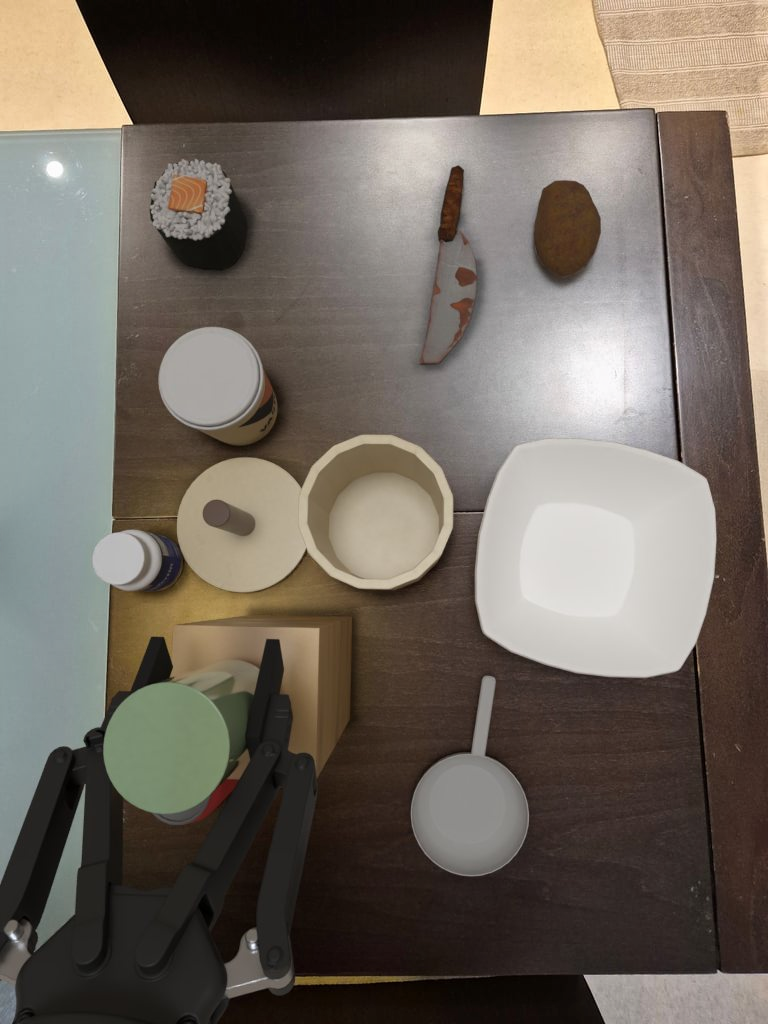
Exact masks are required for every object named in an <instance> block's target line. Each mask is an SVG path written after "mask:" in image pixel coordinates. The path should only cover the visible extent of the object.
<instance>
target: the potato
mask: <svg viewBox="0 0 768 1024" xmlns="http://www.w3.org/2000/svg"><path fill="white" fill-rule="evenodd" d="M601 219H602V218H601V216H600V212H599V210H598V208H597V206H596V204H595V203H594V201H593V198H592V196H591V194H590V191H589V190H588V189H587V188H586V186H585V185H584V184H583V183H581V182H579V181H576V180H569V179H568V180H567V179H563V180H562V179H559V180H554V181H552V182H551V183H549V184H547V185H546V186H545V187H543V188H542V190H541V194H540V198H539V201H538V206H537V212H536V215H535V220H534V221H535V222H534V225H533V242H534V243H533V244H534V248H535V252H536V256H537V259H538V260H539V262H540V263H541V265H542V266H543V267H544V269H546V270H547V271H549V273H551V274H552V275H554V276H556V277H559V278H561V279H563V278H568V277H572V276H575V275H576V274H577V273H579V272H580V271H582V270H583V269H584V268H585V267H586V266H587V265H588V263H589V262H590V260H591V259H592V258H593V256H594V255H595V251H596V250H597V247H598V244H599V241H600V237H601V234H602V223H601V222H602V221H601Z"/></svg>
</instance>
